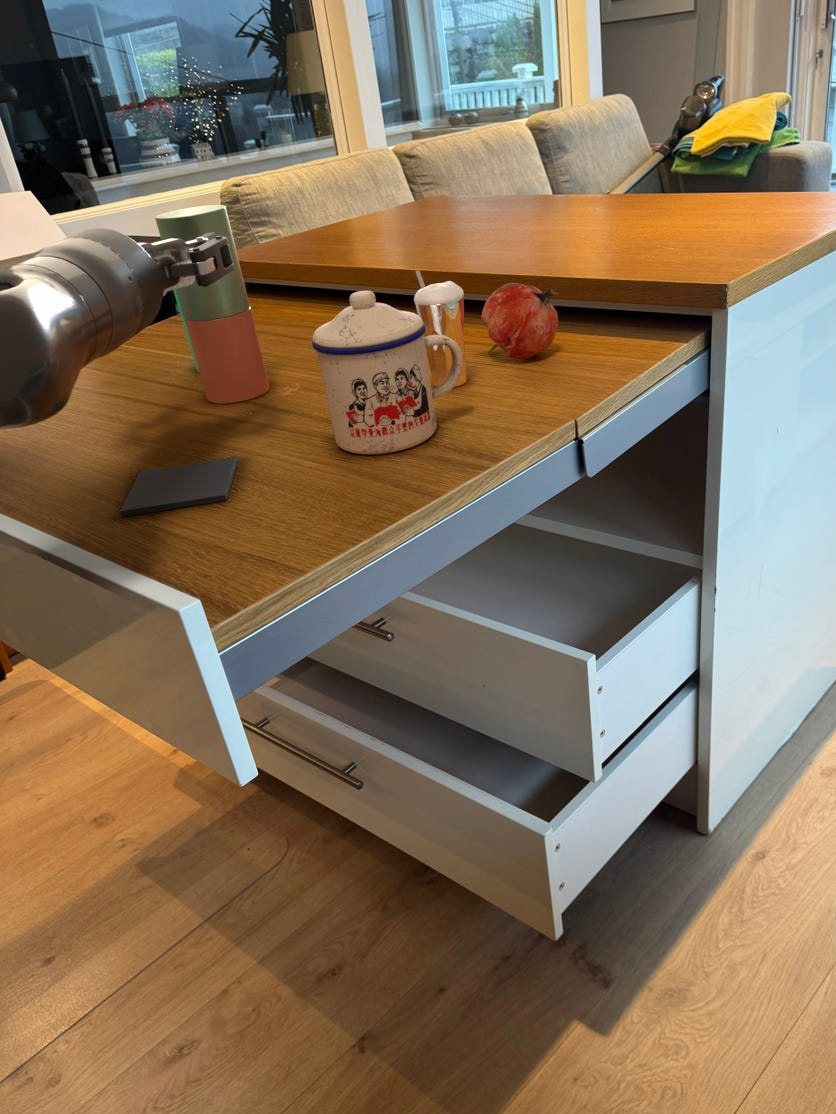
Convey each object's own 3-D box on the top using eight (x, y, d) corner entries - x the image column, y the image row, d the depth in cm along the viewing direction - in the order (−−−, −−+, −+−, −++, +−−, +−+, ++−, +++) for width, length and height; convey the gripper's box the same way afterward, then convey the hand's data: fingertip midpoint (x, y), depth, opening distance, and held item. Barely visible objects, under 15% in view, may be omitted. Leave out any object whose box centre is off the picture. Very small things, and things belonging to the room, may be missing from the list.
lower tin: (203, 407, 89) (179, 325, 84) (211, 388, 94) (189, 309, 90) (267, 398, 89) (246, 315, 84) (272, 379, 94) (252, 300, 90)
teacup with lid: (348, 466, 71) (316, 315, 65) (322, 432, 78) (292, 294, 72) (487, 431, 74) (471, 284, 68) (451, 402, 81) (433, 266, 75)
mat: (121, 517, 68) (119, 511, 67) (141, 476, 74) (140, 471, 74) (226, 500, 68) (225, 494, 68) (237, 462, 75) (236, 456, 74)
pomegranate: (482, 389, 91) (544, 332, 83) (447, 325, 90) (505, 263, 83) (528, 374, 95) (590, 320, 88) (494, 314, 95) (553, 255, 88)
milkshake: (451, 371, 89) (437, 264, 84) (483, 380, 86) (470, 270, 80) (413, 383, 87) (396, 275, 82) (444, 394, 84) (428, 281, 78)
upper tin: (179, 325, 84) (148, 221, 79) (189, 309, 90) (161, 211, 85) (246, 315, 84) (220, 211, 80) (252, 300, 90) (229, 202, 85)
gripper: (168, 227, 60) (235, 193, 74) (-29, 250, 62) (72, 213, 75) (200, 339, 64) (258, 288, 78) (14, 359, 66) (103, 305, 79)
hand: (167, 251), depth 77 cm, fingers open, 8 cm apart
